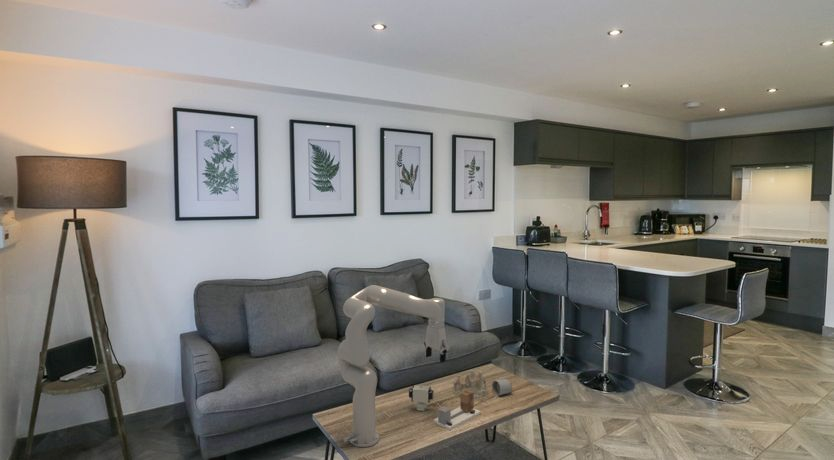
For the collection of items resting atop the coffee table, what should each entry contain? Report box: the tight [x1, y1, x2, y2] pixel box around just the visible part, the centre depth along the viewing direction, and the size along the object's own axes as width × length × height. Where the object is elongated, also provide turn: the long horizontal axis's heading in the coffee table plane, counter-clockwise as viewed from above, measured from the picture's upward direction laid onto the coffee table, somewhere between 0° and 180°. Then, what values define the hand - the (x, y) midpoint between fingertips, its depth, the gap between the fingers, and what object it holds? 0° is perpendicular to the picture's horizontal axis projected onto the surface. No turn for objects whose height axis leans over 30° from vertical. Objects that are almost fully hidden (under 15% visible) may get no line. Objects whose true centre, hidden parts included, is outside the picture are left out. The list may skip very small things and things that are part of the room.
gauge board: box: [432, 405, 482, 431], centre depth 213 cm, size 22×10×7 cm, turn 134°
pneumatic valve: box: [408, 384, 435, 412], centre depth 222 cm, size 6×12×12 cm, turn 78°
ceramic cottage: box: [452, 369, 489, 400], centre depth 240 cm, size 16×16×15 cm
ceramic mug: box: [491, 378, 513, 397], centre depth 240 cm, size 11×8×8 cm
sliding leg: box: [460, 390, 475, 412], centre depth 216 cm, size 5×7×8 cm
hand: (435, 359), depth 219 cm, fingers open, 9 cm apart
